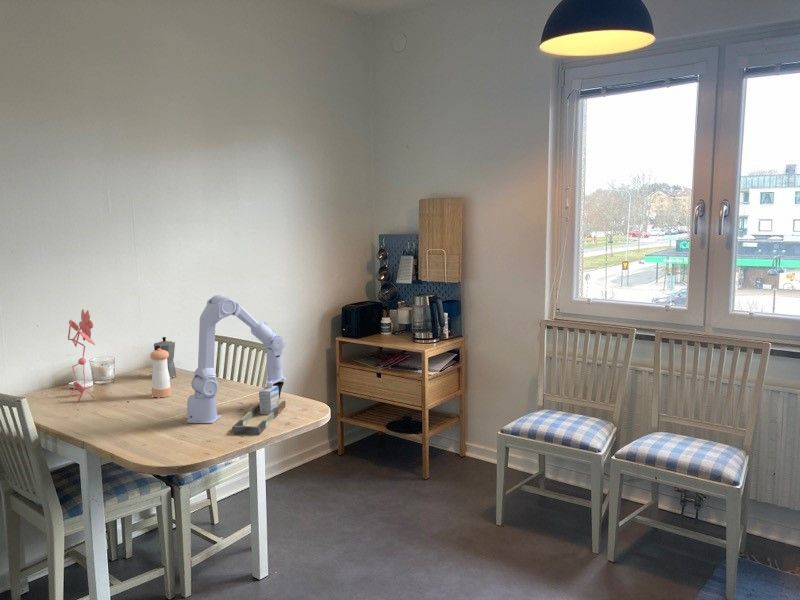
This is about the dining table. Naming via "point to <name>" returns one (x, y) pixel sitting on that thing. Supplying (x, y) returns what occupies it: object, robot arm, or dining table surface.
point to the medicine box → (268, 399)
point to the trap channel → (253, 430)
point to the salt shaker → (160, 374)
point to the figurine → (86, 333)
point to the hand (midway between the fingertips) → (275, 401)
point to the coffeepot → (169, 347)
